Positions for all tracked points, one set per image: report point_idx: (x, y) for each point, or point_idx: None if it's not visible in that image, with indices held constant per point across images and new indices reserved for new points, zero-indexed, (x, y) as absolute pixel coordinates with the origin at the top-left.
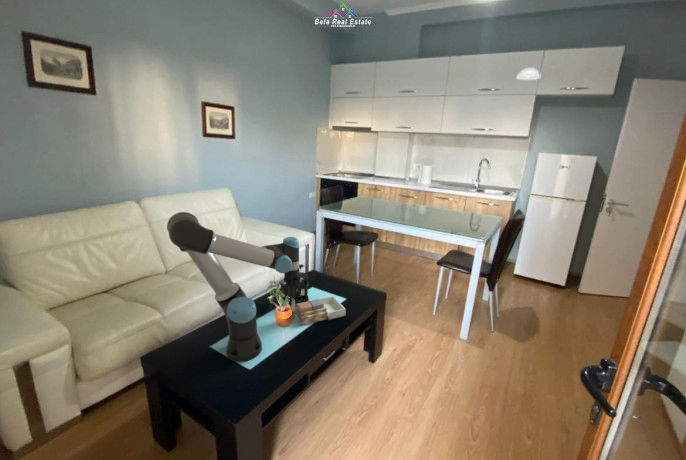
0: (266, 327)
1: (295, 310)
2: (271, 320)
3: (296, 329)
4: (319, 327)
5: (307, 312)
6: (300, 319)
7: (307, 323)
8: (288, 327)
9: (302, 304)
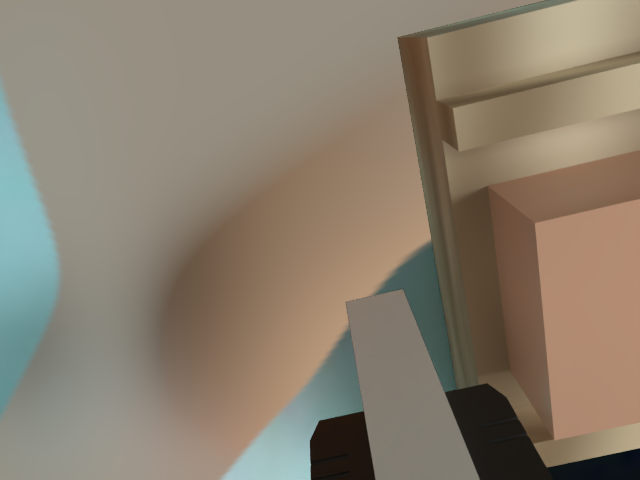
0: (3, 372)
1: (436, 164)
2: (43, 224)
3: None
4: (637, 459)
5: (621, 445)
6: (462, 369)
7: None
8: (285, 411)
9: (633, 284)
